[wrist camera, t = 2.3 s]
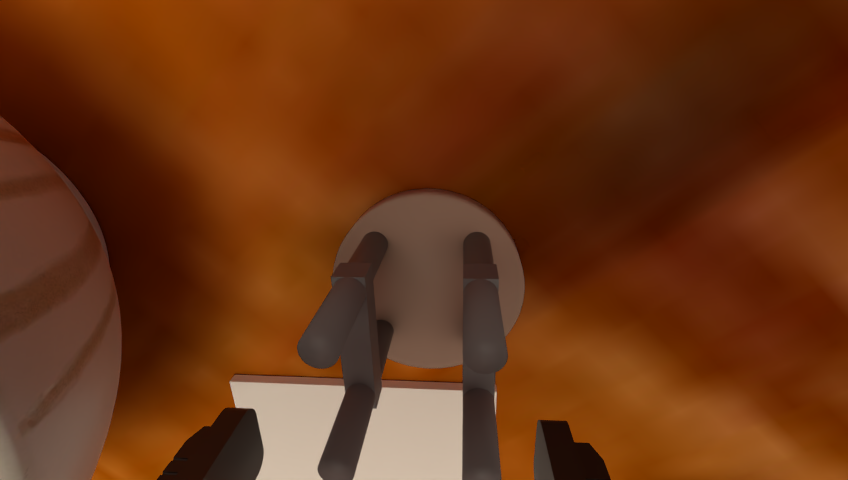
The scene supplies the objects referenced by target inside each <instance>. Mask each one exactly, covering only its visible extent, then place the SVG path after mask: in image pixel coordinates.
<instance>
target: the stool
mask: <svg viewBox="0 0 848 480" xmlns="http://www.w3.org/2000/svg"><path fill="white" fill-rule="evenodd" d="M331 282H332V289H331V290H330V292H329V294H328V295H327V297H326V298H325V300H324V302H323V303H322V305H321V306H320V308H319V310H318V311H317V313H316V314H315V316H314V318H313V319H312V321H311V322H310V324H309V326H308V327H307V329H306V331H305V332H304V334H303V335H302V337H301V339H300V340H299V342H298V345H297V350H298V354H299V356H300V357H301V359H302V360H303V361H304V362H305V363H306V364H308V365H310V366H312V367H315V368H321V369H322V368H329V367H331V366H333V365H334V364H335V363H336V362H337V361H338V359H339V356H340V355H341V363H342V371H343V379H344V387H345V395H344V398H343V400H342V403H341V406H340V408H339V411H338V414H337V416H336V419H335V422H334V424H333V427H332V430H331V432H330V435H329V438H328V440H327V443H326V446H325V448H324V451H323V454H322V456H321V459H320V462H319V464H318V468H317V470H318V474H319V475H320V477H321V478H322V479H323V480H353V478H354V475H355V472H356V468H357V464H358V461H359V457H360V453H361V450H362V446H363V442H364V439H365V435H366V432H367V428H368V424H369V421H370V417H371V413H372V410H373V409H377V405H378V401H379V398H380V394H381V390H382V381H381V377H382V373H383V370H384V366H385V363H386V359H387V358H388V359H390V360H393V361H395V362H398V363H401V364H405V365H408V366H414V367H420V368H446V367H453V366H457V365H461V364H463V424H462V480H501V470H500V459H499V448H498V436H497V425H496V414H495V403H494V396H495V372H497V371H499V370H500V369H502V368H503V367H504V365H505V364H506V362H507V358H508V353H507V347H506V340H505V337H506V336H507V334H508V333H509V332H510V330H511V329H512V327H513V326H514V324H515V322H516V320H517V318H518V316H519V314H520V311H521V307H522V304H523V299H524V292H525V286H524V274H523V268H522V265H521V261H520V258H519V255H518V251H517V248H516V245H515V243H514V241H513V239H512V237H511V235H510V233H509V232H508V230H507V229H506V227H505V226H504V224H503V223H502V222H501V221H500V220H499V219H498V218H497V216H496V215H494V214H493V213H492V212H491V211H490V210H489V209H487V208H486V207H485V206H483V205H482V204H480V203H478V202H477V201H475V200H473V199H471V198H469V197H467V196H465V195H462V194H459V193H455V192H452V191H447V190H442V189H430V188H424V189H413V190H408V191H403V192H400V193H397V194H394V195H391V196H389V197H387V198H385V199H383V200H381V201H379V202H378V203H376V204H375V205H373V206H372V207H370V208H369V209H368V210H367V211H366V212H365V213H364V214H363V215H362V216H361V217H360V218H359V219H358V220H357V222H356V223H355V224H354V226H353V227H352V228H351V230H350V231H349V232H348V234H347V235H346V237H345V238H344V240H343V242H342V244H341V245H340V248H339V250H338V253H337V255H336V259H335V263H334V269H333V274H332V276H331Z"/></svg>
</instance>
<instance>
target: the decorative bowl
mask: <svg viewBox="0 0 848 480" xmlns="http://www.w3.org/2000/svg"><path fill="white" fill-rule="evenodd" d="M121 356H122V329H121V316H120V308H119V302H118V296H117V290H116V286H115V282H114V278H113V275H112V271H111V268H110V265H109V257H108V251H107V247H106V243H105V240H104V237H103V234H102V231H101V229H100V226H99V224H98V222H97V220H96V218H95V216H94V214H93V212H92V210H91V209H90V207H89V205H88V204H87V202H86V201H85V199H84V198H83V196H82V195H81V193H80V192H79V191H78V189H77V188H76V187H75V186H74V185H73V183H72V182H71V181H70V180H69V179H68V178H67V177H66V175H65V174H64V173H63V172H62V171H61V170H60V169H59V168H58V167H57V166H56V165H54V164H53V163H52V162H51V161H50V160H49V159H48V158H46V157H45V156H44V155H43V154H41V153H40V152H39V151H37V150H36V149H35V148H34V147H33V145H32V144H31V143H30V142H28V141H27V140H26V139H25V138H24V137H23V136H22V135H21V134H20V133H19V132H18V131H17V130H16V129H15V128H14V127H13V126H12V125H10V124H9V123H8V122H7V121H6V120H5V119H4V118H2V117H1V116H0V480H91V478H92V476H93V473H94V471H95V468H96V465H97V463H98V460H99V457H100V454H101V452H102V449H103V446H104V443H105V440H106V437H107V434H108V430H109V426H110V423H111V419H112V414H113V410H114V405H115V401H116V396H117V391H118V385H119V377H120V368H121Z"/></svg>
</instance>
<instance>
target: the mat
mask: <svg viewBox="0 0 848 480" xmlns="http://www.w3.org/2000/svg"><path fill="white" fill-rule="evenodd" d="M381 381H382V390H381V394H380V398H379V401H378V405H377V409H373V410H372V413H371V417H370V421H369V424H368V428H367V432H366V435H365V439H364V442H363V446H362V450H361V453H360V457H359V461H358V464H357V468H356V472H355V475H354V478H353V480H462V424H463V383H449V382H422V381H395V380H381ZM229 382H230V386H231V390H232V394H233V398H234V402H235V406H236V408H252V409H254V410H255V412H256V415H257V419H258V424H259V429H260V434H261V438H262V443H263V448H264V456H263V462H262V466H261V469H260V472H259V474H258V476H257V478H256V480H323V479H322V478H321V477H320V475H319V474H318V470H317V468H318V464H319V462H320V459H321V456H322V454H323V451H324V448H325V446H326V443H327V440H328V438H329V435H330V432H331V430H332V427H333V424H334V422H335V419H336V416H337V414H338V411H339V408H340V406H341V403H342V400H343V398H344V395H345V387H344V379H341V378H314V377H287V376H260V375H234V376H233V378H232V379H231V380H230V381H229ZM496 397H497V390H496V384H495V396H494V403H495V414H496Z"/></svg>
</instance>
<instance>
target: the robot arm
mask: <svg viewBox="0 0 848 480" xmlns="http://www.w3.org/2000/svg"><path fill="white" fill-rule="evenodd" d="M263 456H264V448H263V443H262V438H261V434H260V429H259V424H258V419H257V415H256V412H255V410H254V409H252V408H225V409H224V410H223V411H222V412H221V413H220V415H219V416H218V418H217V419H216V420H215V422H214V423H213V424H212V426H211V427H210V426H204V427H203V428H202V429H200V430H199V431H198V432H197V433H195V434H194V435H193V436H192V437H190V438H189V439H188V440H187V441H186V442H185V443H184V444H183V446H182V447H181V448H180V450H179V451H178V452H177V454H176V455H175V456H174V459H173V461H171V462H170V463H169V464H168V466H167V467H166V468H165V470H164V471H163V474H162V475H160V476H159V478H158V479H157V480H256V478H257V476H258V474H259V472H260V469H261V466H262V462H263ZM534 478H535V480H611V479H610V476H609V474H608V471H607V468H606V466H605V463H604V460H603V459H602V458H601V457H600V456H599V454H598V453H597V452H596V451H595V450H594V448H593V447H592V446H591V445H590V444H589V443H575V442H574V441H573V437H572V434H571V431H570V428H569V425H568V423H567V421H553V420H538V423H537V432H536V443H535V455H534Z"/></svg>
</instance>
